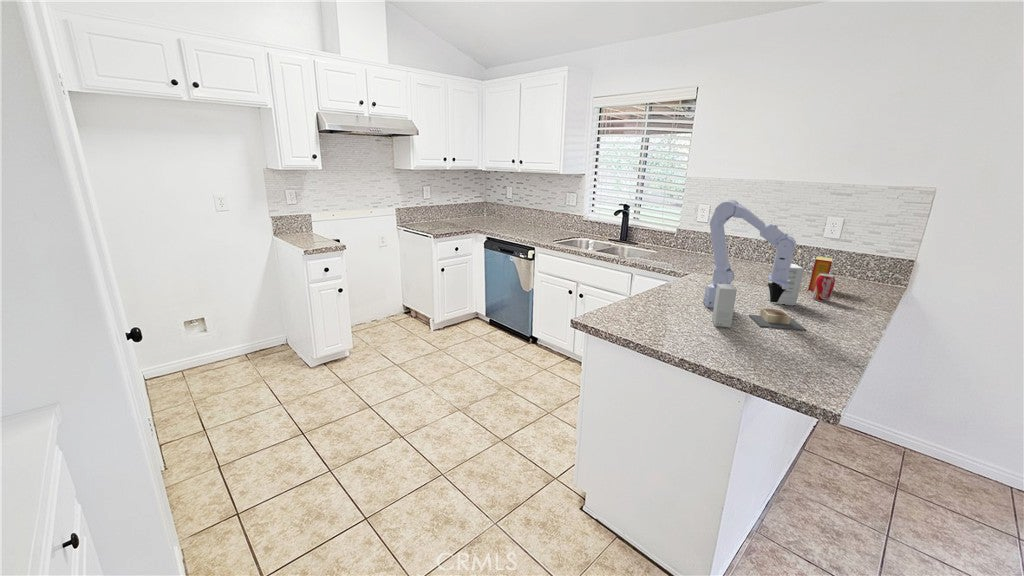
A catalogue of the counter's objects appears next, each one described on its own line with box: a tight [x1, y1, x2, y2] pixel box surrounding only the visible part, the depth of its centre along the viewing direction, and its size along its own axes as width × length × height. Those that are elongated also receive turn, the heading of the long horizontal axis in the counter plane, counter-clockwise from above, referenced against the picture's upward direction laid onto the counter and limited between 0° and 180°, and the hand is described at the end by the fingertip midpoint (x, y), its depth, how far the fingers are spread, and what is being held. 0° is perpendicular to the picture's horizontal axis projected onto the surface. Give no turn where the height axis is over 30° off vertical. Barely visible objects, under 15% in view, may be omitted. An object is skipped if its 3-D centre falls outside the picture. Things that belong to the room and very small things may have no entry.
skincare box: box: [711, 284, 738, 329], centre depth 162 cm, size 8×6×15 cm
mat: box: [748, 314, 807, 332], centre depth 167 cm, size 16×12×1 cm
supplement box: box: [765, 262, 805, 306], centre depth 190 cm, size 10×9×17 cm
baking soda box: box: [807, 255, 833, 292], centre depth 212 cm, size 10×6×16 cm
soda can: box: [811, 273, 836, 303], centre depth 196 cm, size 7×7×12 cm
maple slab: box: [758, 307, 792, 324], centre depth 169 cm, size 8×3×8 cm
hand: (773, 301), depth 170 cm, fingers closed
